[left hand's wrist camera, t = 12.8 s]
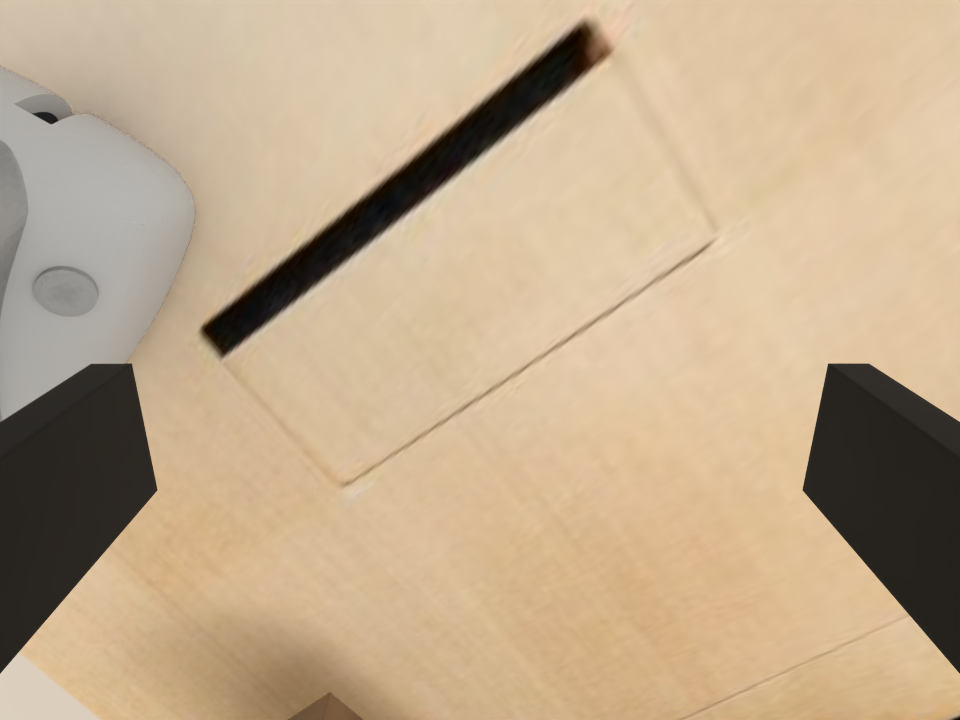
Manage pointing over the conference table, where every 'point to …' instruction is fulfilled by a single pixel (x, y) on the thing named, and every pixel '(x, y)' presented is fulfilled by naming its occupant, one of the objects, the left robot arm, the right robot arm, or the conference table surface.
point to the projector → (78, 240)
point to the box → (326, 710)
